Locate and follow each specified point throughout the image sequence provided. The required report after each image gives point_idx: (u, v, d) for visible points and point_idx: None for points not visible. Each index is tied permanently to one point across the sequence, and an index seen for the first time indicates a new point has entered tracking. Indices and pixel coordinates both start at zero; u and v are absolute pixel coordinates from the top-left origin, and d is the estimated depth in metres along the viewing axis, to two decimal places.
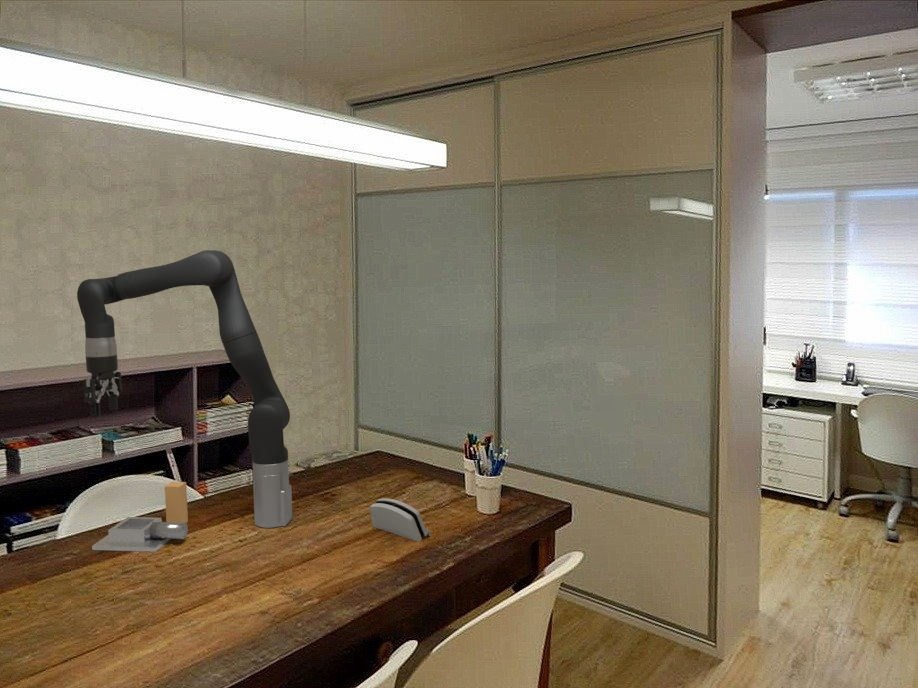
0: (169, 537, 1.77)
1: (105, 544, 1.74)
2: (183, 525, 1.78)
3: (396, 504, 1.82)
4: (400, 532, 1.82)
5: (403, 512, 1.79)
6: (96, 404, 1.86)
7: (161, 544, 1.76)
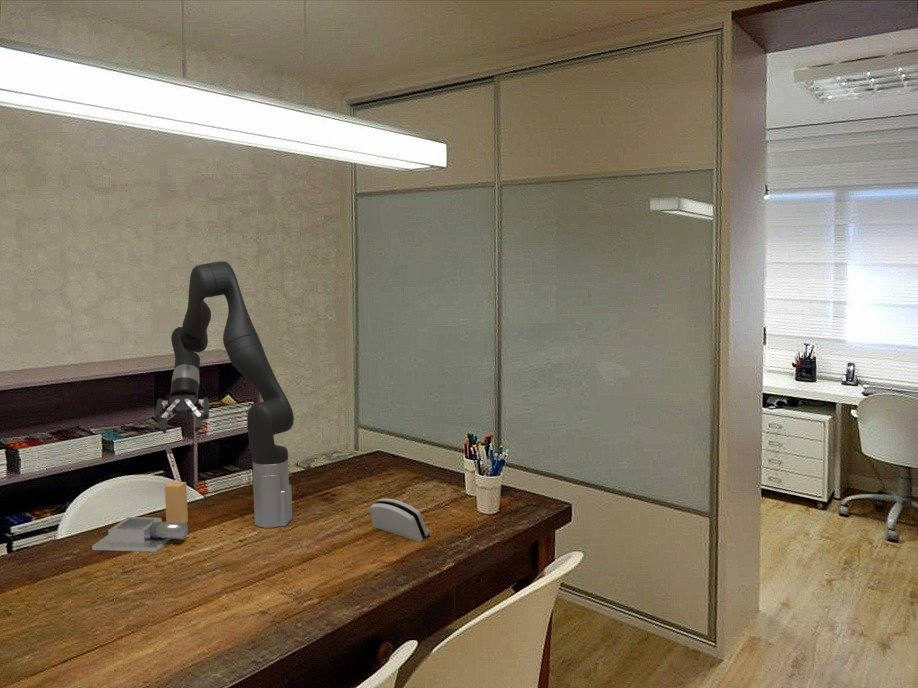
0: (169, 537, 1.77)
1: (105, 544, 1.74)
2: (183, 525, 1.78)
3: (397, 504, 1.82)
4: (401, 532, 1.82)
5: (404, 512, 1.79)
6: (162, 419, 1.99)
7: (161, 544, 1.76)
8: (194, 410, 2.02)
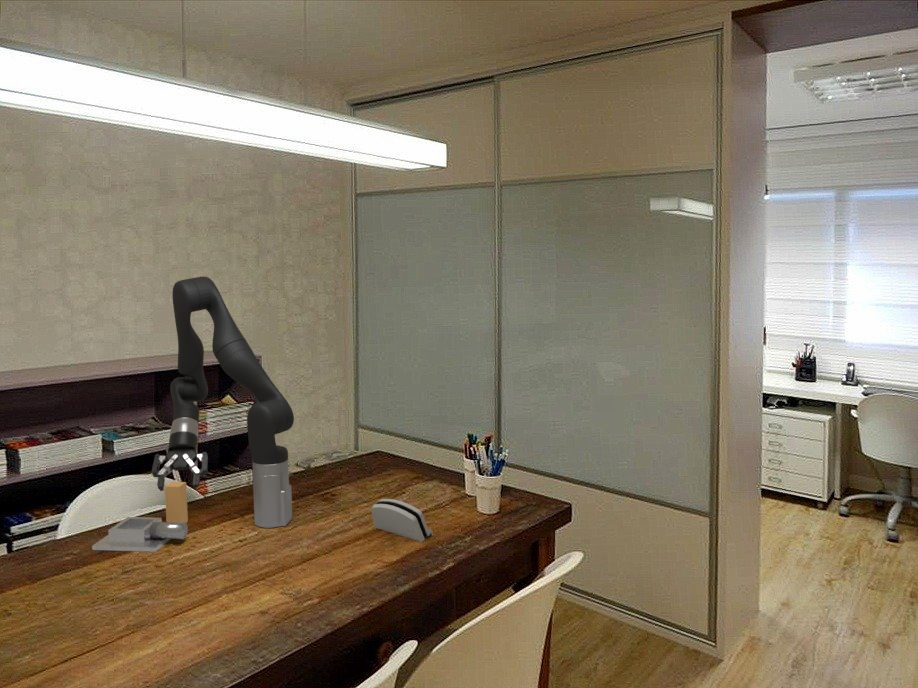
0: (169, 537, 1.77)
1: (105, 544, 1.74)
2: (183, 525, 1.78)
3: (398, 504, 1.82)
4: (402, 533, 1.82)
5: (406, 512, 1.79)
6: (159, 476, 1.93)
7: (161, 544, 1.76)
8: (192, 466, 1.96)
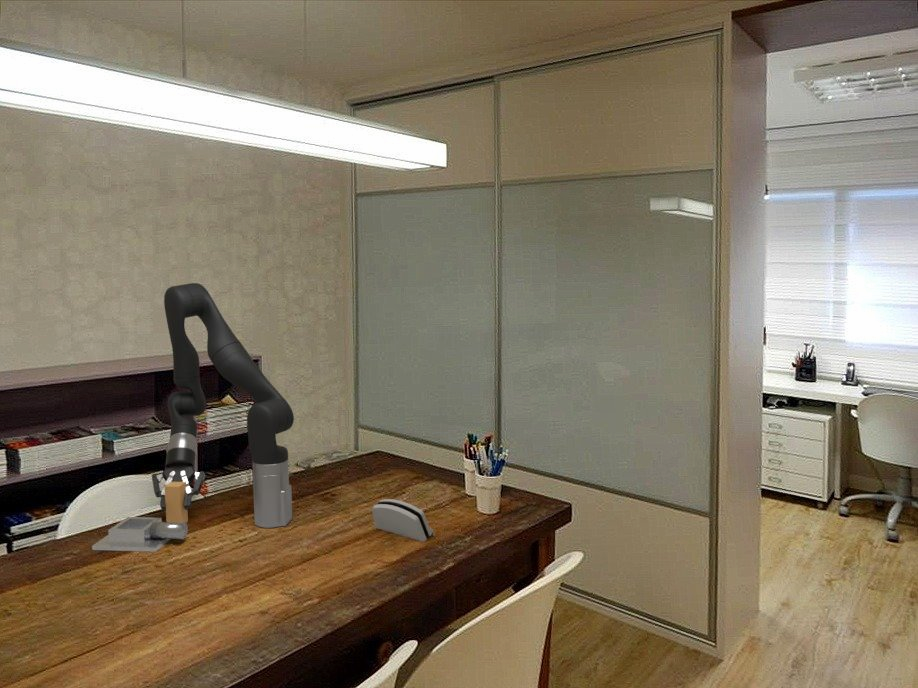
0: (169, 537, 1.77)
1: (105, 544, 1.74)
2: (183, 525, 1.78)
3: (400, 505, 1.82)
4: (404, 533, 1.82)
5: (408, 512, 1.79)
6: (162, 496, 1.89)
7: (161, 544, 1.76)
8: (186, 485, 1.91)
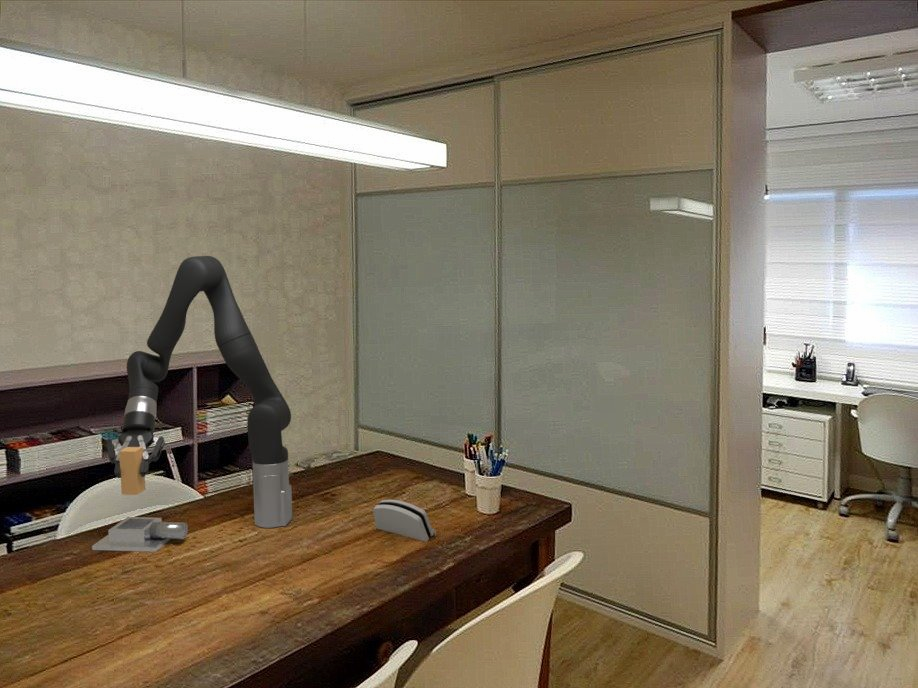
0: (169, 537, 1.77)
1: (105, 544, 1.74)
2: (183, 525, 1.78)
3: (402, 505, 1.81)
4: (406, 533, 1.82)
5: (410, 513, 1.78)
6: (117, 462, 1.76)
7: (161, 544, 1.76)
8: (143, 451, 1.78)
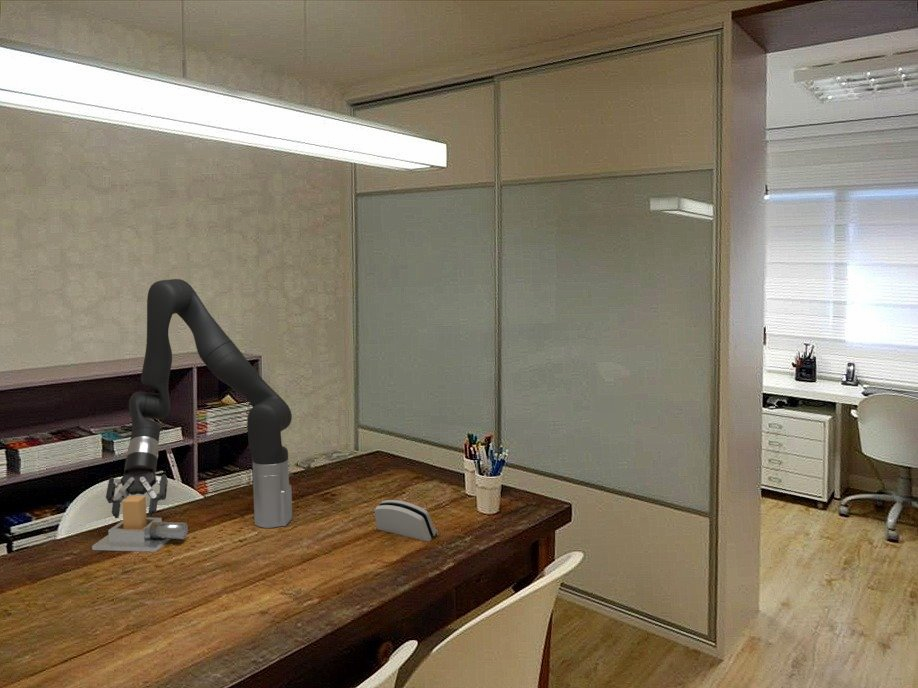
0: (169, 537, 1.77)
1: (105, 544, 1.74)
2: (183, 525, 1.78)
3: (404, 505, 1.81)
4: (408, 533, 1.82)
5: (413, 513, 1.78)
6: (114, 502, 1.77)
7: (161, 544, 1.76)
8: (149, 490, 1.80)
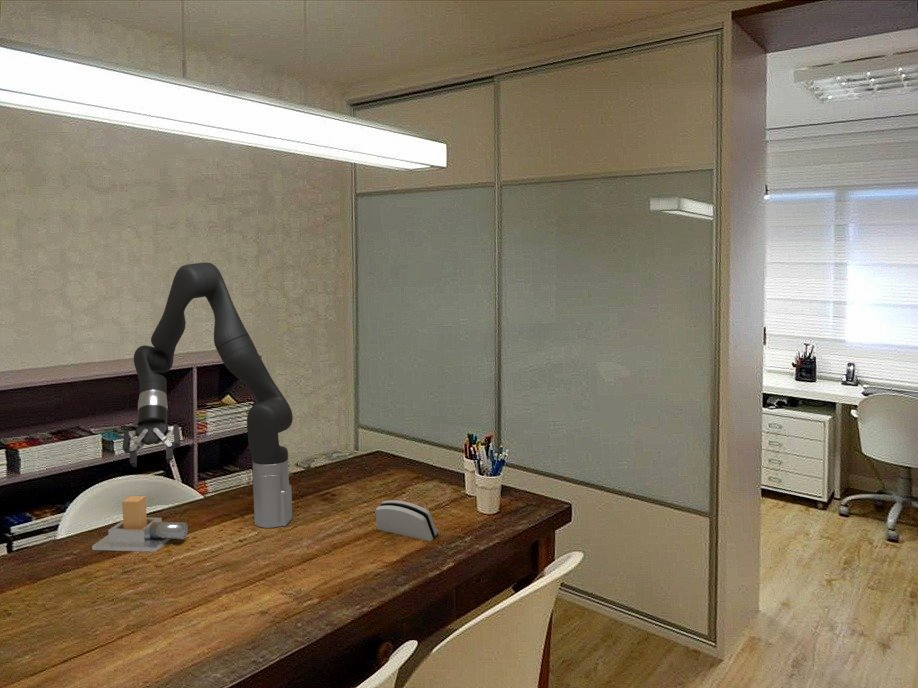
0: (169, 537, 1.77)
1: (105, 544, 1.74)
2: (183, 525, 1.78)
3: (405, 505, 1.81)
4: (409, 533, 1.82)
5: (414, 513, 1.78)
6: (131, 453, 1.90)
7: (161, 544, 1.76)
8: (164, 440, 1.92)
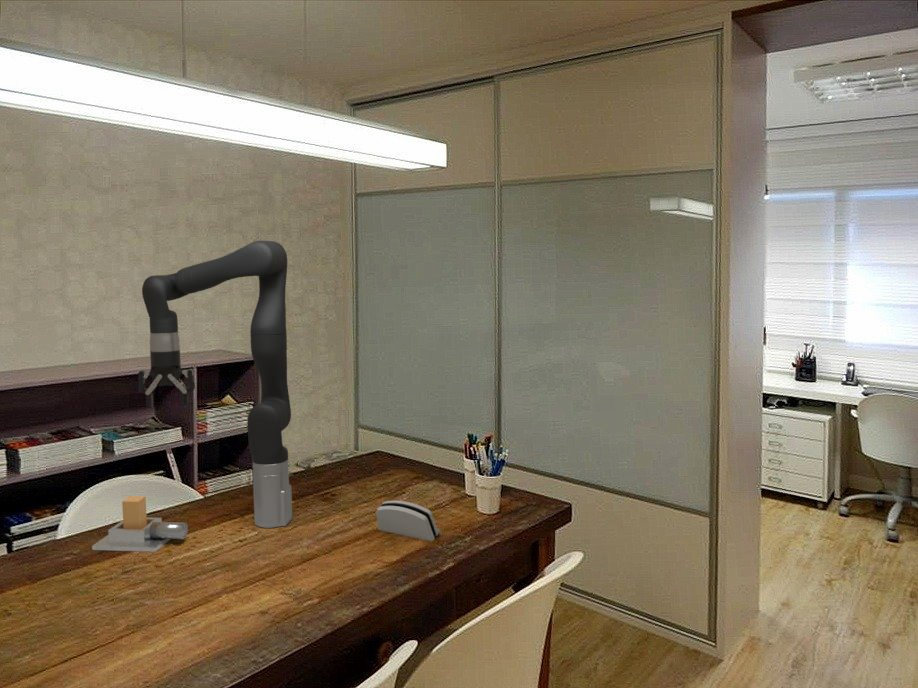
0: (169, 537, 1.77)
1: (105, 544, 1.74)
2: (183, 525, 1.78)
3: (406, 505, 1.81)
4: (410, 533, 1.82)
5: (416, 513, 1.78)
6: (147, 395, 1.93)
7: (161, 544, 1.76)
8: (179, 387, 1.94)
